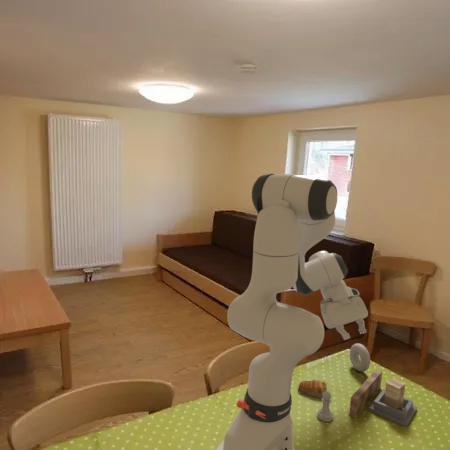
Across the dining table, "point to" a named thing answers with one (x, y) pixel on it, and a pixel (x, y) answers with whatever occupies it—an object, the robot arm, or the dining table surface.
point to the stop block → (394, 394)
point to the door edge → (365, 393)
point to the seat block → (393, 410)
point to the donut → (364, 356)
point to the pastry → (313, 387)
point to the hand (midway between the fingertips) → (355, 336)
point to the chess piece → (325, 408)
